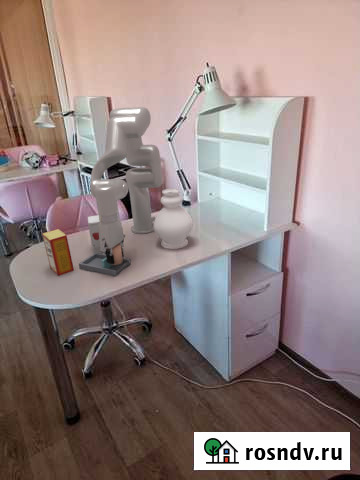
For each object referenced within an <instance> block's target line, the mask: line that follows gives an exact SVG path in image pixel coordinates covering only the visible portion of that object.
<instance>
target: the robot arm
mask: <svg viewBox="0 0 360 480" xmlns="http://www.w3.org/2000/svg"><path fill="white" fill-rule="evenodd" d="M150 124H151V113H150V111H149V109H148V108H147V107H145V106H142V107H141V106H139V107H119V108H115V109H112V110H110V112H109V119H108V121H107V125H106V126H107V127H106V137H105V146H104V149H105V150H104V153H103V154H102V155H101V156H100V157H99V159H98V160H97V161H96V163H95V164H94V165H93V168H92V170H91V174H90V175H91V176H90V186H89V187H90V188H89V189H90V193H91V195H92V197H93V198H94V199H95V201H96V207H97V209H96V210H97V215H99V221H100V223H99V241H100V246H101V249H100V251H101V253H102V254H105V255H106V257H107V263H110V264H114V263H115V261H114V255H113V254H112V250H113V247H114V246H116V245H117V244H118V243H119V244H121V250H122V257H123V258H124V256H125V254H124V248H123V247H124V242H125V239H126V235H125V234H124V229H123V225H122V224H123V223H122V221H121V218H120V213H119V206H118V205H119V204H118V201H120V200H122V199H124V198H125V197H126V196H127V195H128V192H129V198H130V205H131V214H132V222H133V223H132V224H133V225H132V226H131V227H130V231H131V232H132V233H134V234H139V235H140V234H141V235H142V234H149V233H152V232H155V231H154V220H155V218H156V216H152V209H151V199H150V198H151V196H150V194H149V192H148V191H147V189H155V188H157V189H158V188H159V187H161V186H162V185H163V172H162V162H161V153H160V149H159V148H158V146H157V145H156V144H155V145H154V144H144V143H143V139H142V137H143V136H144V135H145V133H146V131H147V130H148V129H149V126H150ZM124 160H126V162H127V164H128V165H129V166H133V168H132V167H131V168H130V169H127V171H126V173H125V179H118V178H115V179H112V178H110V179H109V178H107V179H104V178H102V177H103V175H104V173H105V171H107V170H108V169H109V168H110V167H112V166H114V165H116V164H117V163H119V162H122V161H124ZM108 249H110V250H109V251H108Z"/></svg>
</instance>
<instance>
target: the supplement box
mask: <svg viewBox="0 0 360 480" xmlns="http://www.w3.org/2000/svg"><path fill="white" fill-rule="evenodd" d="M99 223H100V221H99V215H98V214H96V215H91V216H90V215H89V216H87V225H88V231H89V237H90V242H91V247H92V254H94V253H99V254H102V252H101V251H100V249H101V246H100V241H99Z"/></svg>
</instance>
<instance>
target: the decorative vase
mask: <svg viewBox="0 0 360 480" xmlns="http://www.w3.org/2000/svg"><path fill="white" fill-rule="evenodd" d="M179 193H180V189H178V188H167V189H166V188H165V189H163V190H162V191H161V194H163V195H162V197H160V203H161V205H163V207H162V208H161V209H160V210H159V212H158V213H157V215H156V216H155V220H154V221H153V224H154V231H153V232H154V233H155V234H156V235H157V236H158V237H159V238H160V239H161V242H160V246H161V247H162V248H164V249H168V250H173V249H174V250H178V249H182V248H184V247H186V246H187V245H188V244H189V240H188V239H187V237H188V236H189V235H190V233H191V232H192V231H193V227H194V224H193V219H192V217H191V215H190V214H189V213H188V211H186V209H184V208H183V207H182V206H181V203H183V197H182V196H181V195H180V194H179Z"/></svg>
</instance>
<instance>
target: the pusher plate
mask: <svg viewBox="0 0 360 480" xmlns="http://www.w3.org/2000/svg"><path fill="white" fill-rule="evenodd" d="M101 262H102V268H107V269H108V268H110V267H111V266H112V265H111V264H110V263H107V257H106V258H104V259H103V260H102V261H101Z"/></svg>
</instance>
